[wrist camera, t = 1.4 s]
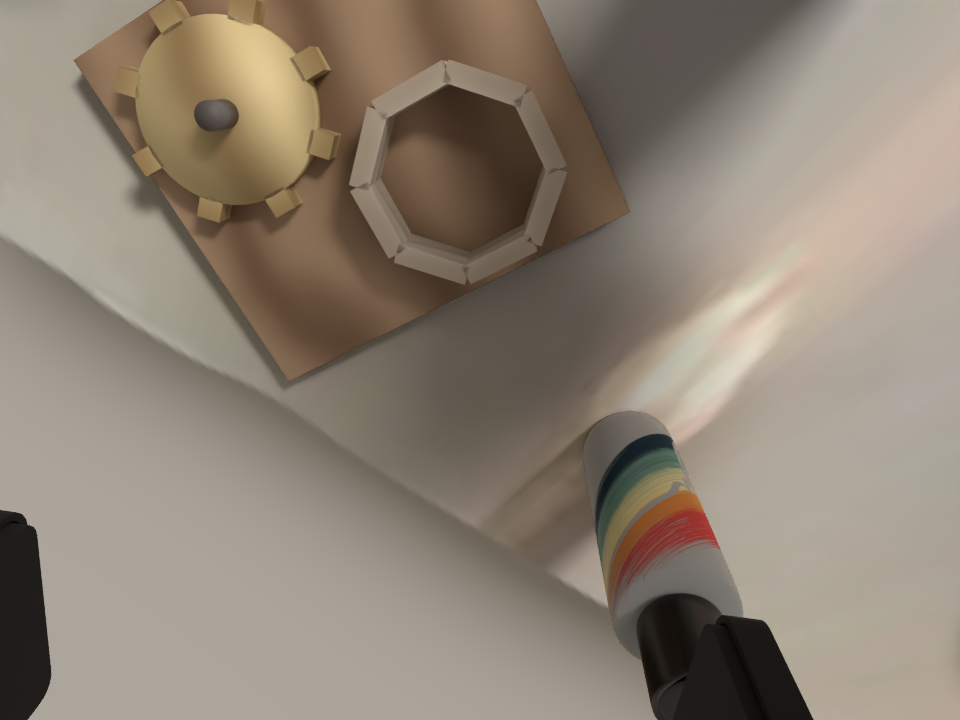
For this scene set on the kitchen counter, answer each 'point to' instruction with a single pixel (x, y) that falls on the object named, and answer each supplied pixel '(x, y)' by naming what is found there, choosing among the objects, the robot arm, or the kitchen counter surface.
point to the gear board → (424, 171)
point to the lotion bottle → (654, 551)
